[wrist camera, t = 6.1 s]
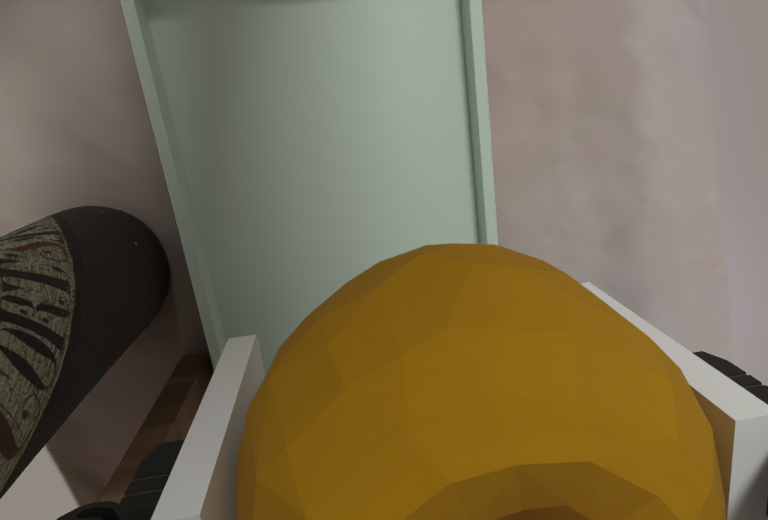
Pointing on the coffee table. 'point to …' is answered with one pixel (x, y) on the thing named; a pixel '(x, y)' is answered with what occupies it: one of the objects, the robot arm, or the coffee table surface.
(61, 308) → the container
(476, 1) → the tray
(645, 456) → the apple
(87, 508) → the robot arm
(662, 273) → the coffee table surface
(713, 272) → the coffee table surface
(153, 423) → the riser
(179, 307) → the coffee table surface
